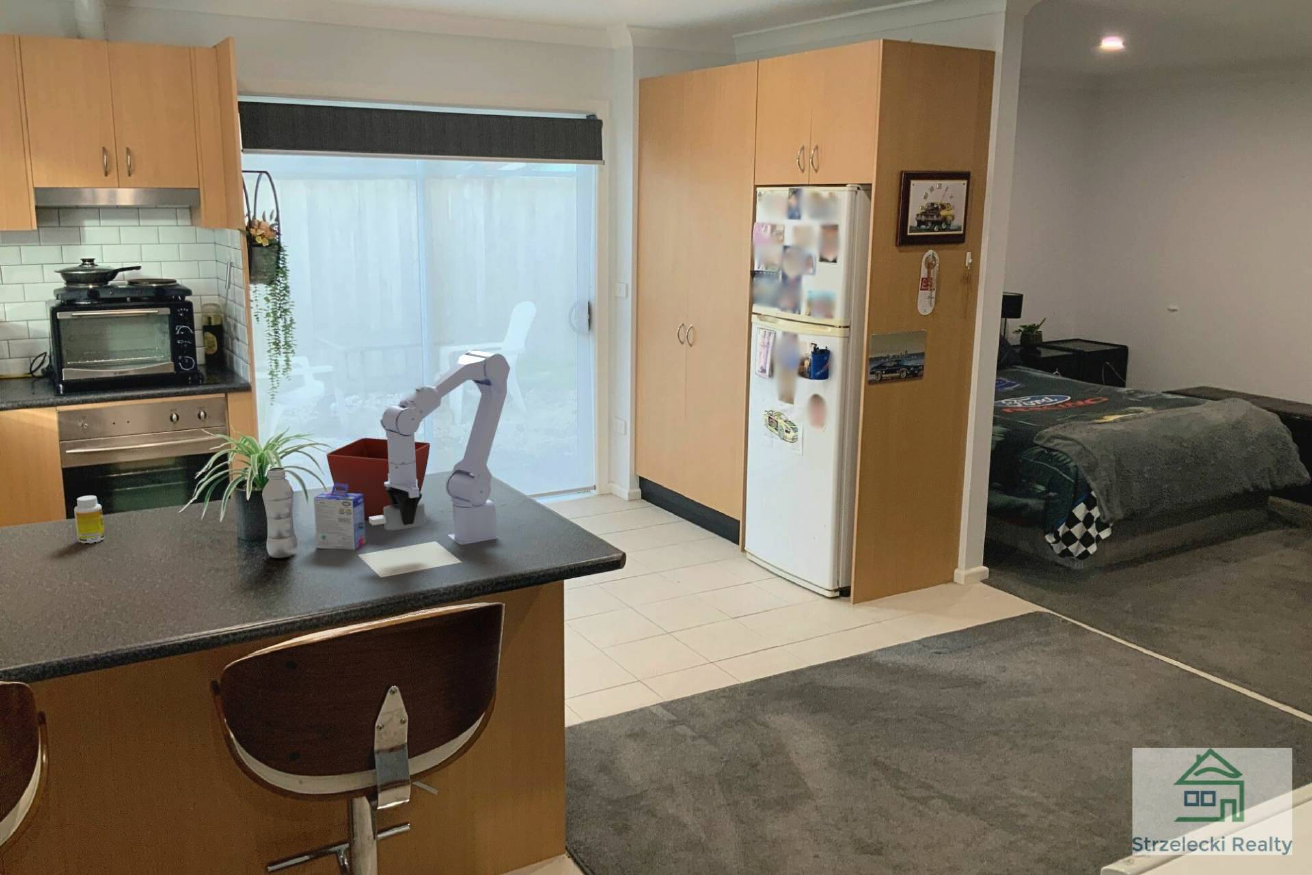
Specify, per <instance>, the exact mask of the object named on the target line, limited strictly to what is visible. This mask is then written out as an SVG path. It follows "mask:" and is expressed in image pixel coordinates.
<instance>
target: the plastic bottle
mask: <svg viewBox="0 0 1312 875" xmlns="http://www.w3.org/2000/svg"><path fill="white" fill-rule="evenodd" d="M286 477H287V473H286V468H285V467H283V466H277V467H276V466H275V467H274V466H273V467H270V468H268V469H267V479H268V481H267V482H266V484H265V486H264V487H263V489H262V493H261V495H262V500H263V504H264V508H265V513H266V522H267V538H266V550H267V553H268V555H269V556H270V557H271V558H274V559H284V558H288V557H292V556H294V555H296V553H297V551H298V547H299V542H298V537H297V534H296V531H295V530H296V529H295V525H294V516H293V514H294V513H293V512H294V510H293V508H294V507H293V506H294V490H293V487H292V485H291V484H290V483H289V482H288V481H287V479H286Z"/></svg>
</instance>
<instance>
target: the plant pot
mask: <svg viewBox="0 0 1312 875" xmlns="http://www.w3.org/2000/svg"><path fill="white" fill-rule="evenodd" d="M430 447H431V444H430V442H424V441H423V442H422V441H415V460H416V479H417V487H418V488H419V492H420V493H421V491H422V487H423V484H424V480H425V477H426V473H427V468H428V461H429V455H430ZM326 459H327V464H328V469H329V472H330V476H331V479H332V482H333V484H334V483H339V484H348V491H347V493H353V494H363V501H364V520H369V517H372V516H379V515H383V516H384V511H383V508H384V507H385V506H389V505H392V502H391V499H390V497H389V495H388V493H387V492H386V490H385V488H387V487H386V486H384V482H388V474H389V462H388V443H387V438H372V437H363V438H358V439H357V440H355V441H353V442H350V443H348V444H346V445H343V446H341V447H339V448H337V449H335V450H332V451H330V452H328V453H326ZM335 490H343V491H344V490H345V488H343V487H336V488H335Z"/></svg>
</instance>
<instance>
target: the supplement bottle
mask: <svg viewBox="0 0 1312 875" xmlns="http://www.w3.org/2000/svg"><path fill="white" fill-rule="evenodd" d="M76 503H77V506H75V507H74V509H73V510H74V519H75V521H74V522H75V528H76V536H77V541H78V542H79V543H80V542H81V543H80V544H85V543H89V544H95V543H94V542H96V543H98V542H101V540H102V541H103V540H104V539H105V537H106V533H105V525H104V516H103V508H102V505H101V504H99V503H98V498H97V496H96V495H83V496H80V497H78V498H76Z"/></svg>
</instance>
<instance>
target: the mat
mask: <svg viewBox="0 0 1312 875" xmlns="http://www.w3.org/2000/svg"><path fill="white" fill-rule="evenodd" d="M357 555H358V557H359V558H360V559H361V560H362V561H363V562H364V563H365V564H366V565H368V567H370V568H371V570H372V571H374V573H375V574H376V575H378V577H380V578H386V577H391V576H396V575H397V576H398V575H401V574H408V573H412V572H418V571H425V570H429V569H434V568H439V567H445V566H451V565H455V564H461V563H463V561H461V560H460V559H459V558H457V557H456V556H455V555H454V554H453V553H451V552H450V551H448V549H446V548H445V547H444V546H443V545H441V544H440V543H438V542H437V541H436V540H434V541H429V542H423V543H418V544H411V545H407V546H401V547H395V548H390V549H384V550H378V551H373V552H367V553H360V554H357Z"/></svg>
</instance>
